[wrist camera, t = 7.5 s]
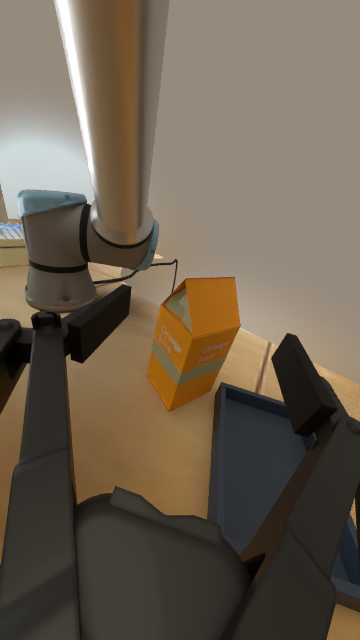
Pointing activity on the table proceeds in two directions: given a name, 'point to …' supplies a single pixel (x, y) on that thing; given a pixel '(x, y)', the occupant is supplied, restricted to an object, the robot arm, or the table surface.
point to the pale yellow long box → (12, 246)
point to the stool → (3, 211)
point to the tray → (263, 476)
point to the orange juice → (193, 338)
